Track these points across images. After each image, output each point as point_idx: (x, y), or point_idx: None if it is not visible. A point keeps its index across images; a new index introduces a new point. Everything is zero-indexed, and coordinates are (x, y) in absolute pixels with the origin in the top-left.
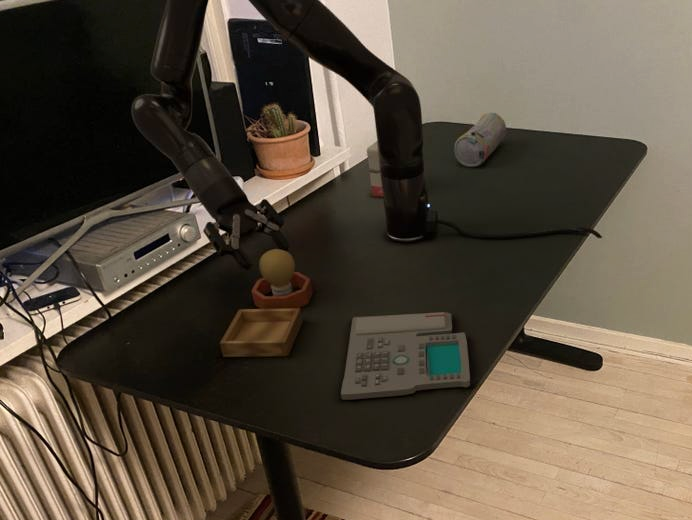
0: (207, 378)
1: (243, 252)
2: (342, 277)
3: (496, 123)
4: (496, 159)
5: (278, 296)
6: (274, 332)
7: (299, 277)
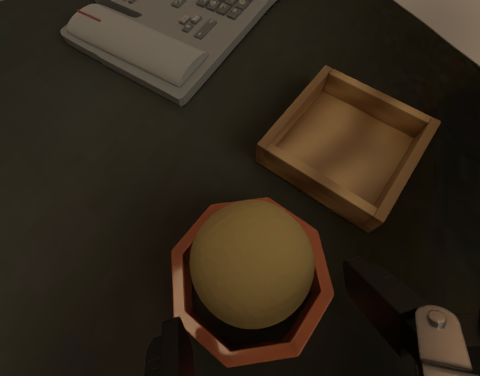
0: (452, 103)
1: (385, 294)
2: (79, 286)
3: None
4: None
5: None
6: (320, 146)
7: (185, 290)
